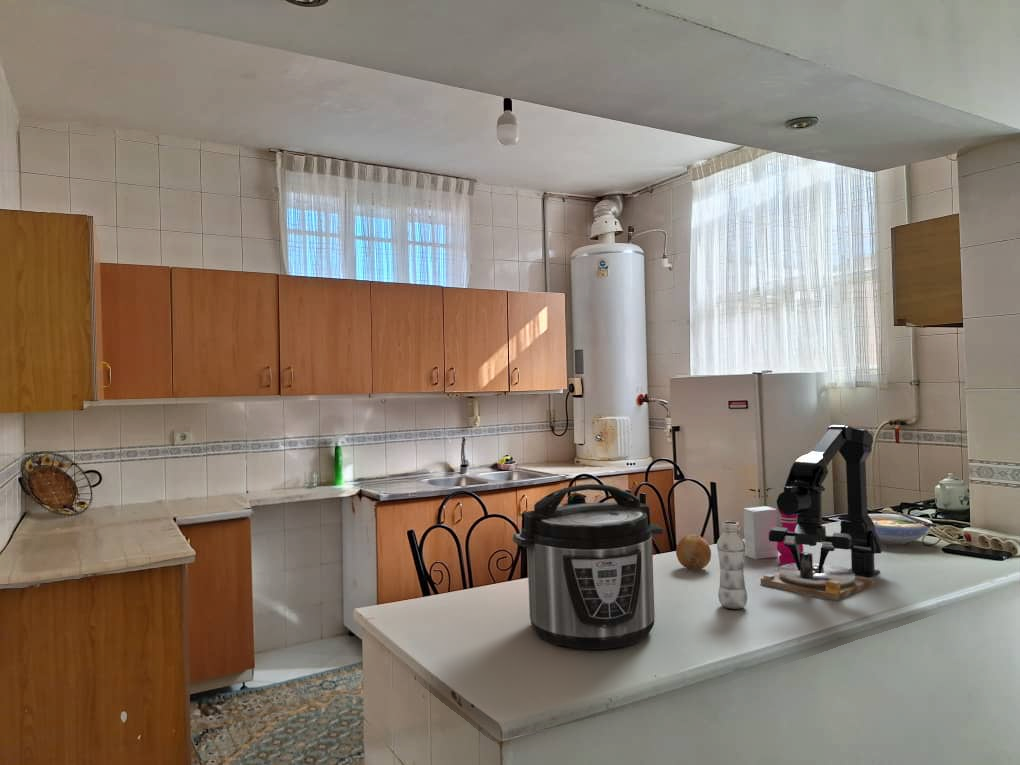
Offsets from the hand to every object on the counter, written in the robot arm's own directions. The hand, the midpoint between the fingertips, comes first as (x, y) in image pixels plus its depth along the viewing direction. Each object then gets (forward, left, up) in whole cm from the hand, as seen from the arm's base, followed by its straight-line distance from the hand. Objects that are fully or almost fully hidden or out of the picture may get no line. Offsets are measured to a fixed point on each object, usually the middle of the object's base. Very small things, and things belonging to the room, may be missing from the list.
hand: (809, 571), depth 173 cm
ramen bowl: (-71, -9, -5) cm, 72 cm away
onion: (+3, -33, -5) cm, 33 cm away
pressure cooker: (+61, -17, -5) cm, 64 cm away
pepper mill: (-23, -18, -5) cm, 29 cm away
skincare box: (-24, -28, -5) cm, 37 cm away
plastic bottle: (+25, -6, -5) cm, 26 cm away
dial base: (-7, -2, -5) cm, 9 cm away
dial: (-7, -2, -3) cm, 8 cm away
